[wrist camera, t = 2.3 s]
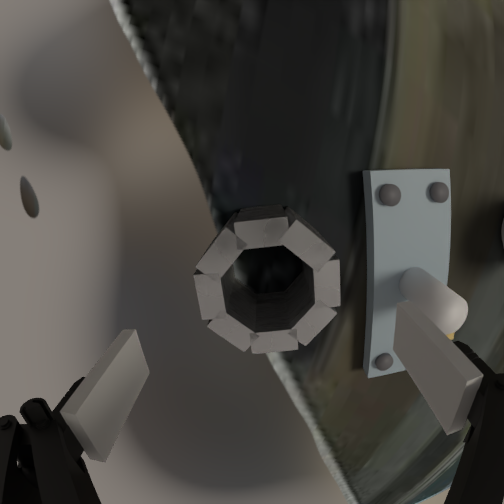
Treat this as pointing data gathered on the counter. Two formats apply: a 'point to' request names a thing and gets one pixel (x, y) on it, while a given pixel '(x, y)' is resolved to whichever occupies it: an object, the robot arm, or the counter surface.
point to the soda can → (502, 232)
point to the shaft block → (407, 258)
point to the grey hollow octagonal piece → (274, 303)
